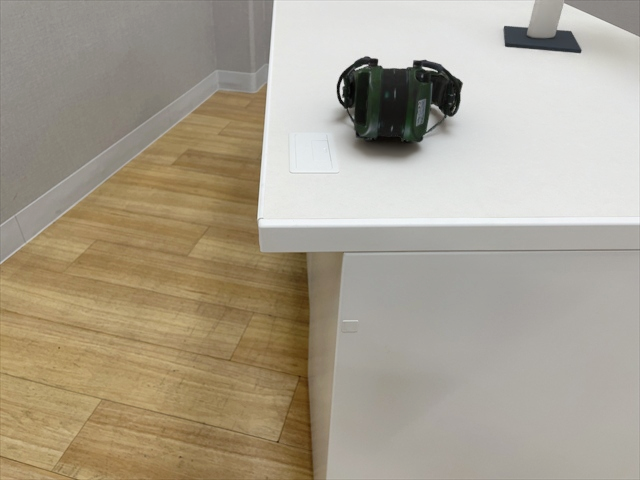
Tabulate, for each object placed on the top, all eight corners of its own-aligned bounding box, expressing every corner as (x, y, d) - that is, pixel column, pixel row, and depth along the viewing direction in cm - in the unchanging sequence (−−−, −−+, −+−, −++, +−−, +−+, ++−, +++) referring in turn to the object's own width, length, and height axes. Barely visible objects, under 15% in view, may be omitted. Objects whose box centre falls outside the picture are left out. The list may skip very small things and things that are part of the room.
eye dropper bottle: (525, 33, 107) (541, -31, 101) (553, 35, 106) (571, -29, 99) (526, 38, 104) (542, -28, 97) (555, 40, 103) (573, -26, 96)
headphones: (491, 114, 55) (461, 83, 73) (412, 15, 51) (401, 8, 69) (394, 191, 60) (389, 145, 77) (316, 105, 56) (329, 78, 74)
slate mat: (570, 33, 110) (571, 31, 110) (580, 52, 98) (581, 49, 97) (503, 28, 113) (504, 25, 113) (505, 46, 101) (505, 43, 100)
